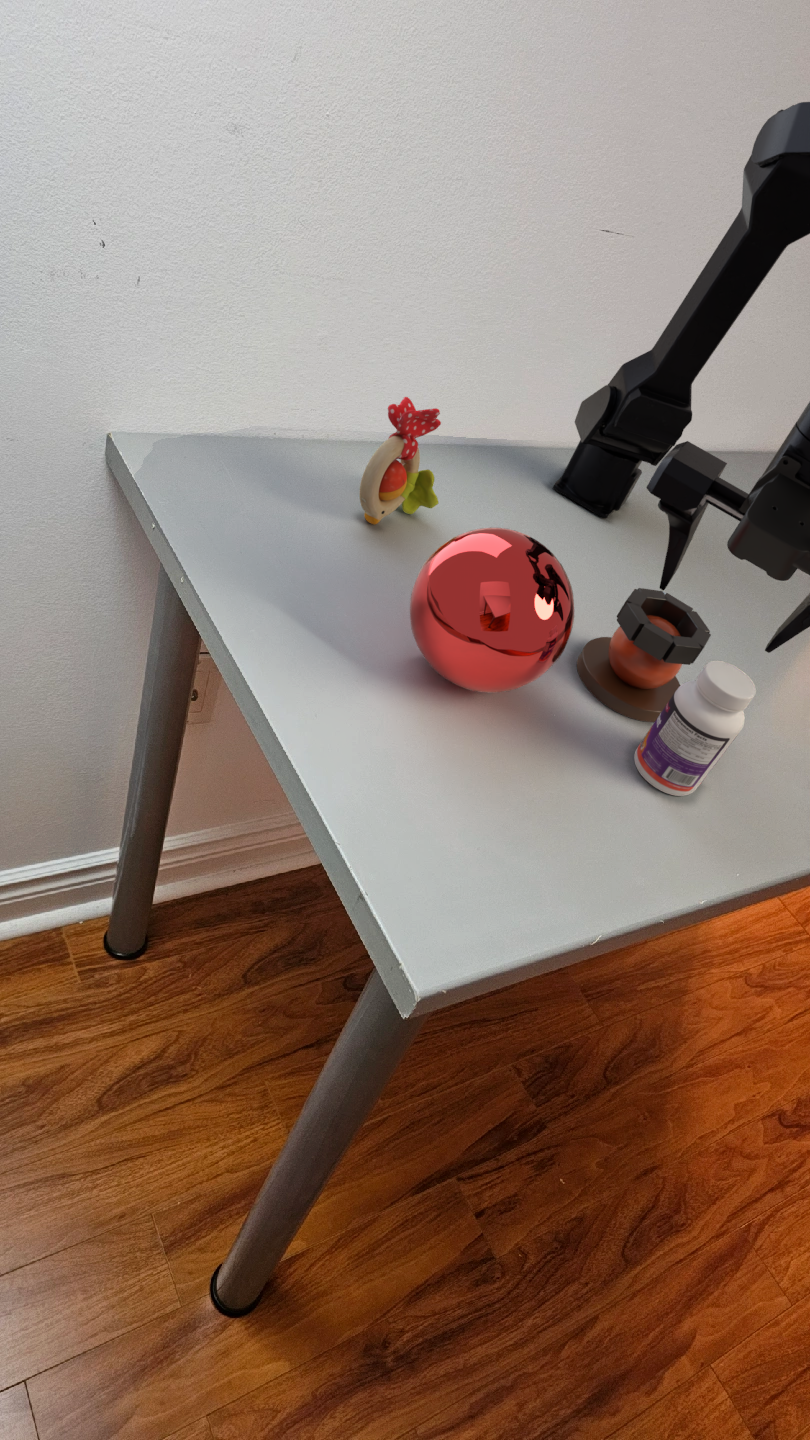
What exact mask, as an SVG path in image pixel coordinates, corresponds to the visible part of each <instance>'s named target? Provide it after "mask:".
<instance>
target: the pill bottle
mask: <svg viewBox="0 0 810 1440" xmlns="http://www.w3.org/2000/svg"><path fill="white" fill-rule="evenodd" d="M756 693H757V689H756V685H755V683H754V681H753V680H752V678H751V677H750V676H749V675H748V674H747V673H745V672H744V671H743V670H742V669H740V668H738V667H737V666H736V665H734V664H732V663H729V662H727V661H722V660H711V661H708V662H707V663H706V664H705V665H704V666H703V668H702V669H701V670H700V671H699V673H698V675H697V677H696V679H691V680H687V681H685V682H683V683H682V684H680V687H679V688H678V689H677V690H676V692H675V693H674V694H673V696H672V697H671V699H670V700H669V702H668V703H667V705H666V706H665V708H664V709H663V711H662V712H661V713H660V715H659V717H658V718H657V719H656V721H655V722H653V724H652V725H651V727H650V728H649V730H648V731H647V733H646V734H645V736H644V737H643V739H642V740H641V741H640V742H639V744H638V746H637V748H636V749H635V752H634V755H633V757H634V758H633V759H634V765H635V767H636V768H637V772H639V774H640V775H641V776H642V777H643V779H644V780H645V781H646V782H647V783H649V784H650V785H651V786H652V787H654V788H655V789H657V790H659V791H661V792H663V793H665V794H667V795H671V796H676V797H683V796H688V795H691V794H692V793H694V792H695V791H696V790H697V789H698V788H699V786H700V785H701V784H702V783H703V782H704V780H705V779H706V778H707V776H708V775H709V774H710V772H711V771H712V770H713V768H714V767H715V766H716V765H717V763H718V762H719V760H720V759H721V758H722V756H723V755H724V753H725V752H726V751H727V750H728V748H729V747H730V746H731V744H732V743H733V742H734V741H735V739H736V738H737V737H738V735H739V734H740V732H741V731H742V729H743V728H744V726H745V721H746V719H745V713H744V711H745V709H746V708H747V707H748V706H749V705H750V703H751V701H752V700H753V699H754V697H755V696H756Z"/></svg>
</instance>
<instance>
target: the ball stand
mask: <svg viewBox="0 0 810 1440" xmlns="http://www.w3.org/2000/svg"><path fill="white" fill-rule="evenodd" d="M646 616H647V617H648V619H649V620H650V622H651V623H653V624H654V625H656V626H658V627H659V628H661V629H663V630H664V631H666V632H667V633H669V634H671V635H672V636H681V635H680V633H679V631H678V630H677V629H676V628H675V626H674V625H672V624H671V623H670V622H669V621H667V620H665V619H663V618H661V617H658V616H653V615H646ZM633 642H634V641H629V639H628V638H627V636H626V635H625V633H624V631H623V630H622V628H621V627H620V625H619V626H618V627H617V628H616V630H615V631H614V633H613V635H612V636H599V637H596V638H593V639H591V640H589V641H588V642H587V643H586V644H585V645H584V647H583V648H582V650H581V652H580V653H579V655H578V657H577V660H576V670H577V673H578V677H579V678H580V681H581V682H582V684H583V685H584V686H585V688H586V689H587V690H588V692H589V693H591V695H592V696H593V697H595V698H596V699H597V700H598V701H599V702H600V703H602V704H603V705H604V706H605V707H607V708H609V709H610V710H612V711H614V712H616V713H618V714H620V715H622V716H625V717H627V718H630V719H632V720H636V721H640V722H648V723H654V722H655V721H656V719H657V718H658V717H659V715H660V713H661V712H662V711H663V709H664V708H665V706H666V705H667V703H668V702H669V700H670V699H671V697H672V696H673V694H674V693H675V692H676V690H677V689H678V688H679V687H680V686H681V684H680V681H679V679H678V678H677V675H678V673H679V672H680V670H681V669H682V666H683V664H675V663H665V662H664V661H663V659H661V661H660V660H658V659H656V658H655V657H653V656H652V655H650V654H648V653H647V652H645V651H643V650H642V649H640V648H639V647H637V646H635V645H634V644H633Z"/></svg>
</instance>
